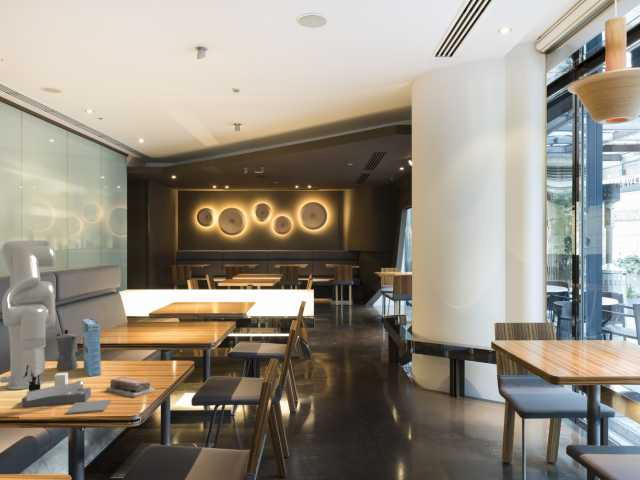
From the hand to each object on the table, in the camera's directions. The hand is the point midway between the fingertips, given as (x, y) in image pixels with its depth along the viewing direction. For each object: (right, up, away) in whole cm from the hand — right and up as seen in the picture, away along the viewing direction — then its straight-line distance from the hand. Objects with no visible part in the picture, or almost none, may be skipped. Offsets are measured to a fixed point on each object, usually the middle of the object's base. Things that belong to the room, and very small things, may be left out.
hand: (34, 395), depth 176 cm
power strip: (+4, -5, +8) cm, 10 cm away
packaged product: (+26, -5, +20) cm, 33 cm away
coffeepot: (-19, -6, +60) cm, 63 cm away
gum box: (-4, -6, +52) cm, 52 cm away
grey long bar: (+6, -1, +2) cm, 7 cm away
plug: (+5, -5, +9) cm, 11 cm away
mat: (+19, -5, 0) cm, 19 cm away
